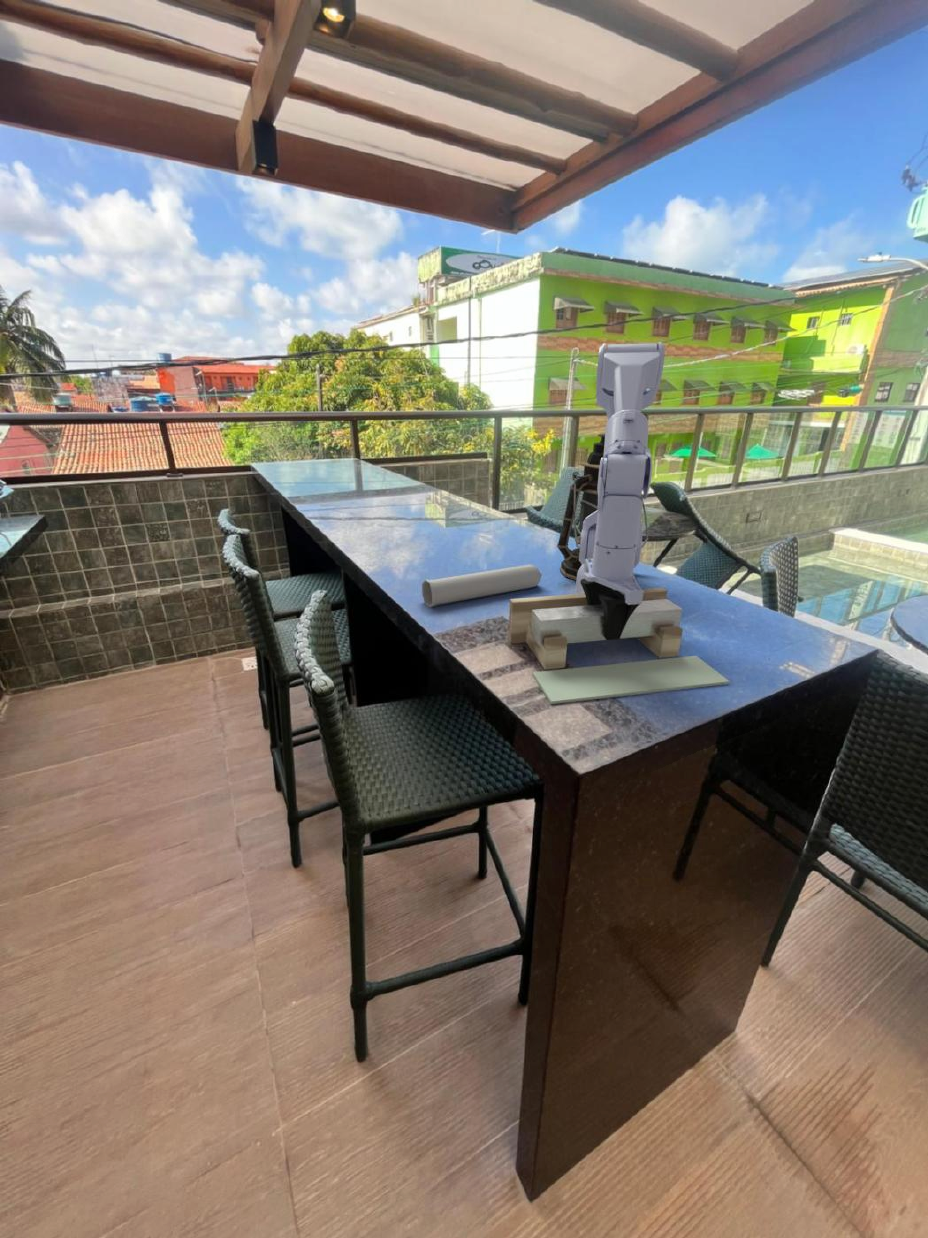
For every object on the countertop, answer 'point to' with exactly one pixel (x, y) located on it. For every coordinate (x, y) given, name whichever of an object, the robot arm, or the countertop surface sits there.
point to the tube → (479, 584)
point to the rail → (601, 621)
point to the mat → (626, 679)
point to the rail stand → (556, 647)
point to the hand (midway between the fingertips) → (604, 631)
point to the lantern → (582, 509)
